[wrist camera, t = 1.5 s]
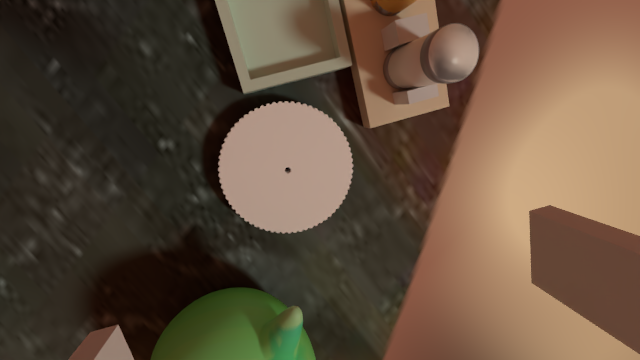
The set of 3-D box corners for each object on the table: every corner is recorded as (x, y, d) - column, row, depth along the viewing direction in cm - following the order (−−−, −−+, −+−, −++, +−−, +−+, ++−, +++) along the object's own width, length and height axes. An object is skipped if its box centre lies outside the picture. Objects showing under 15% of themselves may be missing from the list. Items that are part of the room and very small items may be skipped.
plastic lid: (366, 132, 35) (374, 133, 33) (318, 240, 37) (322, 249, 35) (248, 79, 32) (247, 77, 29) (203, 201, 34) (198, 208, 31)
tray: (208, -24, 29) (203, -36, 26) (321, -49, 30) (325, -62, 27) (245, 94, 32) (243, 93, 29) (346, 68, 33) (352, 65, 30)
